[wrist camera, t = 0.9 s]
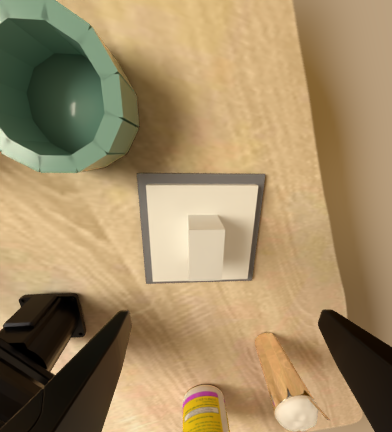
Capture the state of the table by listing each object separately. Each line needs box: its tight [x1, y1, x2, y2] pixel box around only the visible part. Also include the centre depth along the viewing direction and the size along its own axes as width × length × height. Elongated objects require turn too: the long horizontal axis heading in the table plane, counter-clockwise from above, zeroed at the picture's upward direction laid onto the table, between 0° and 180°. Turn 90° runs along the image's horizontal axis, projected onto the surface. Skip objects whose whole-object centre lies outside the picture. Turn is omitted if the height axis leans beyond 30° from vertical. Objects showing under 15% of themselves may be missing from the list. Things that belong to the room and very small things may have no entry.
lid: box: [146, 184, 258, 282], centre depth 19 cm, size 11×11×5 cm
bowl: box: [0, 0, 139, 173], centre depth 15 cm, size 10×10×5 cm
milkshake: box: [255, 333, 330, 431], centre depth 23 cm, size 5×5×10 cm
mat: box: [137, 173, 265, 284], centre depth 21 cm, size 13×13×1 cm
